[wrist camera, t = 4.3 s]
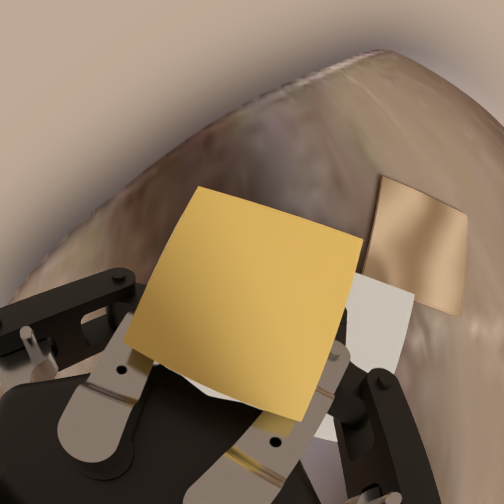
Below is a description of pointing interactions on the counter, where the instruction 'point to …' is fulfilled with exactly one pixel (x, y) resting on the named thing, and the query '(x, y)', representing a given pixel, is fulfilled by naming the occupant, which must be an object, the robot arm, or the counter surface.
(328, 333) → the yellow block
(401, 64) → the counter surface
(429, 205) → the mat
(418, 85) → the counter surface
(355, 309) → the white rectangular block
